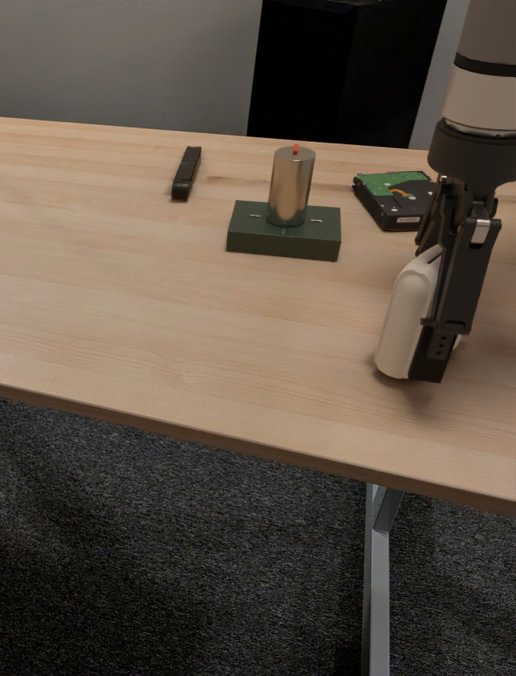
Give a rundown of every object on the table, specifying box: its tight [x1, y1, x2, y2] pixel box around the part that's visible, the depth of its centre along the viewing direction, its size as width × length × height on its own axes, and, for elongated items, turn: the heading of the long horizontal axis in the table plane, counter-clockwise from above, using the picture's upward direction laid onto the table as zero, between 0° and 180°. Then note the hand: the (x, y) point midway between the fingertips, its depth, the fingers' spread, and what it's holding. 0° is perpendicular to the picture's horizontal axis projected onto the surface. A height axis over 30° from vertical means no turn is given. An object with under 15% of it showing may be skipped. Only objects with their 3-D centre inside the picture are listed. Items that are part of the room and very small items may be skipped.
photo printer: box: [373, 238, 463, 380], centre depth 62 cm, size 10×4×12 cm, turn 125°
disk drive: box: [351, 170, 436, 231], centre depth 94 cm, size 10×3×15 cm
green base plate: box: [225, 199, 342, 262], centre depth 88 cm, size 14×10×3 cm
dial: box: [266, 143, 317, 227], centre depth 84 cm, size 5×5×9 cm
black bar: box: [170, 145, 203, 201], centre depth 106 cm, size 18×3×3 cm, turn 163°
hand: (418, 347), depth 65 cm, fingers closed on photo printer, 9 cm apart
